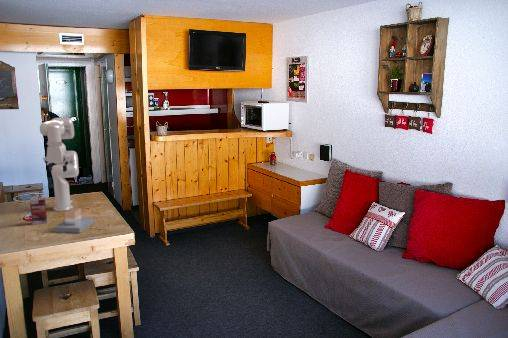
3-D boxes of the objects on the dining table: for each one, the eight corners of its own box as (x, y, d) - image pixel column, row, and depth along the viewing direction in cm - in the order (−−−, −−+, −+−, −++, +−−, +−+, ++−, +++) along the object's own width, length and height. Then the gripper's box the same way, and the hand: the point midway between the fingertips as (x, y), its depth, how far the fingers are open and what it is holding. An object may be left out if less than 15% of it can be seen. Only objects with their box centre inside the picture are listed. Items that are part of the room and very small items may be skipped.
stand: (69, 222, 278) (68, 217, 278) (93, 223, 277) (93, 218, 276) (54, 232, 261) (53, 227, 260) (79, 232, 259) (79, 228, 259)
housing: (65, 224, 265) (64, 212, 263) (72, 220, 273) (71, 208, 271) (75, 225, 264) (74, 212, 263) (81, 220, 272) (80, 208, 270)
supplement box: (32, 225, 273) (29, 200, 270) (32, 222, 277) (29, 198, 274) (47, 223, 277) (45, 198, 274) (47, 220, 281) (44, 197, 278)
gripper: (38, 145, 270) (41, 172, 273) (65, 145, 268) (67, 172, 272) (45, 143, 277) (47, 169, 281) (71, 143, 276) (73, 170, 279)
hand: (57, 171), depth 276 cm, fingers open, 9 cm apart
